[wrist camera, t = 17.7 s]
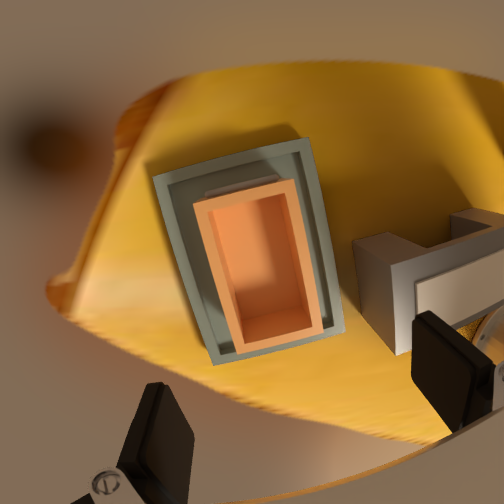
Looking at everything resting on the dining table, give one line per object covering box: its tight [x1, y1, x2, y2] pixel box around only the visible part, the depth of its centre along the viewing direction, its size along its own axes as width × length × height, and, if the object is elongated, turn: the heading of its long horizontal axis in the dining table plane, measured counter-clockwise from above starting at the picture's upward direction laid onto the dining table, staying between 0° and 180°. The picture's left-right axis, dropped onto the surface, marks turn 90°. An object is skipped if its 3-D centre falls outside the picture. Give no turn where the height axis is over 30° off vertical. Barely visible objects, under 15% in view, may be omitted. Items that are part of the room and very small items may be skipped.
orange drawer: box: [193, 174, 324, 355], centre depth 25 cm, size 12×7×5 cm, turn 14°
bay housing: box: [352, 208, 504, 356], centre depth 25 cm, size 16×8×8 cm, turn 104°
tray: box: [153, 137, 346, 366], centre depth 27 cm, size 18×13×2 cm
